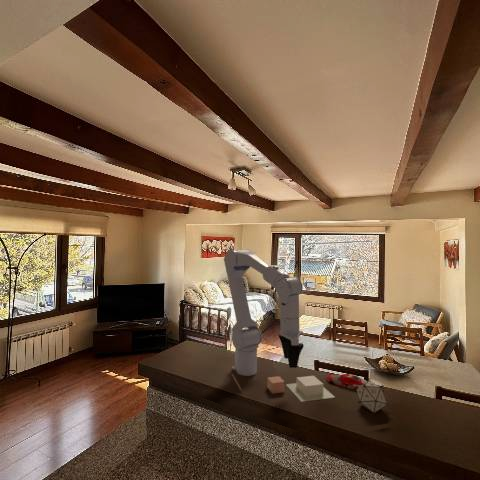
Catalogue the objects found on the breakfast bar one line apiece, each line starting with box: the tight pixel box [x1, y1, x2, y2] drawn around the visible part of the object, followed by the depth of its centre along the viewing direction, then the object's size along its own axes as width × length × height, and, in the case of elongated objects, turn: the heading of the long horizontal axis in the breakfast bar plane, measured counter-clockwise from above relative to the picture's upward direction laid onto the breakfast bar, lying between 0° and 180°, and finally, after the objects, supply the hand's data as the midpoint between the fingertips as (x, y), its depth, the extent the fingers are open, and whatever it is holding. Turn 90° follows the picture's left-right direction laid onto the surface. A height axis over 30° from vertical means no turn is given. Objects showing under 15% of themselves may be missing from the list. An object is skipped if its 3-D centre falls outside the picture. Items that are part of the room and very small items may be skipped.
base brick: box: [295, 375, 324, 396], centre depth 93 cm, size 6×6×3 cm
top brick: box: [266, 375, 285, 394], centre depth 93 cm, size 4×4×4 cm
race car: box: [325, 373, 368, 390], centre depth 98 cm, size 13×5×4 cm, turn 57°
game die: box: [353, 376, 391, 414], centre depth 83 cm, size 9×8×10 cm
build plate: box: [285, 382, 336, 403], centre depth 93 cm, size 11×11×1 cm
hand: (290, 362), depth 91 cm, fingers open, 7 cm apart
